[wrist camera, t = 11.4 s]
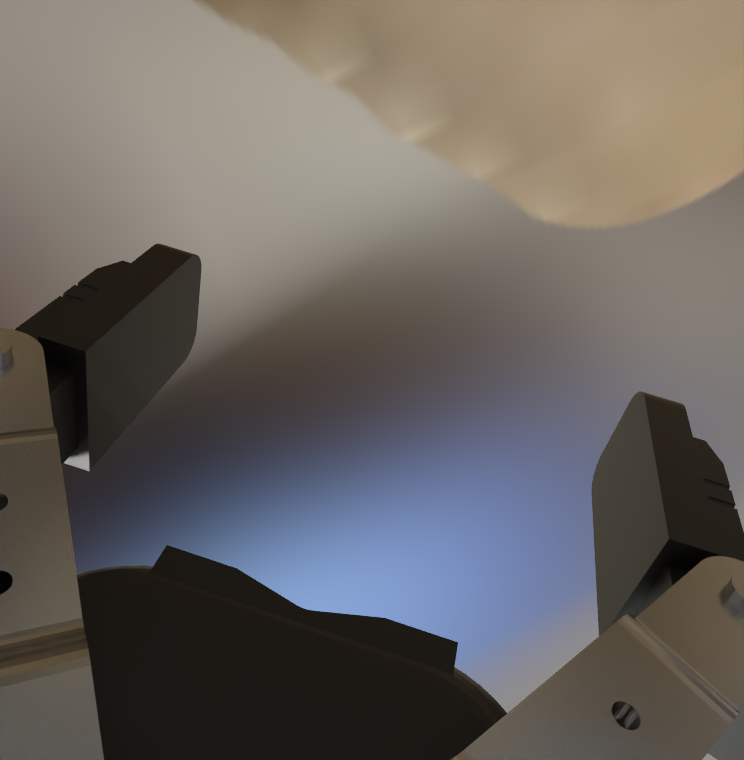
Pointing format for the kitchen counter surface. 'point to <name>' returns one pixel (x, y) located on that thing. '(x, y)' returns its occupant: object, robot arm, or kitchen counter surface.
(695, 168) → the kitchen counter surface
